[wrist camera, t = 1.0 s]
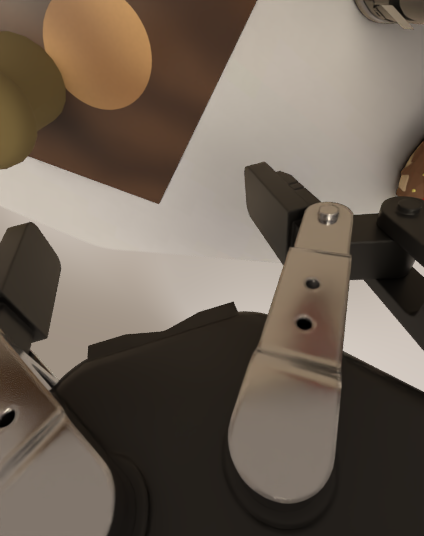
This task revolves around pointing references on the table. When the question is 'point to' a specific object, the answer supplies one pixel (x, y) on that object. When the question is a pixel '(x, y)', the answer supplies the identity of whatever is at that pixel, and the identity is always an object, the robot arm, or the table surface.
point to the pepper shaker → (26, 95)
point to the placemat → (128, 81)
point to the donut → (413, 175)
